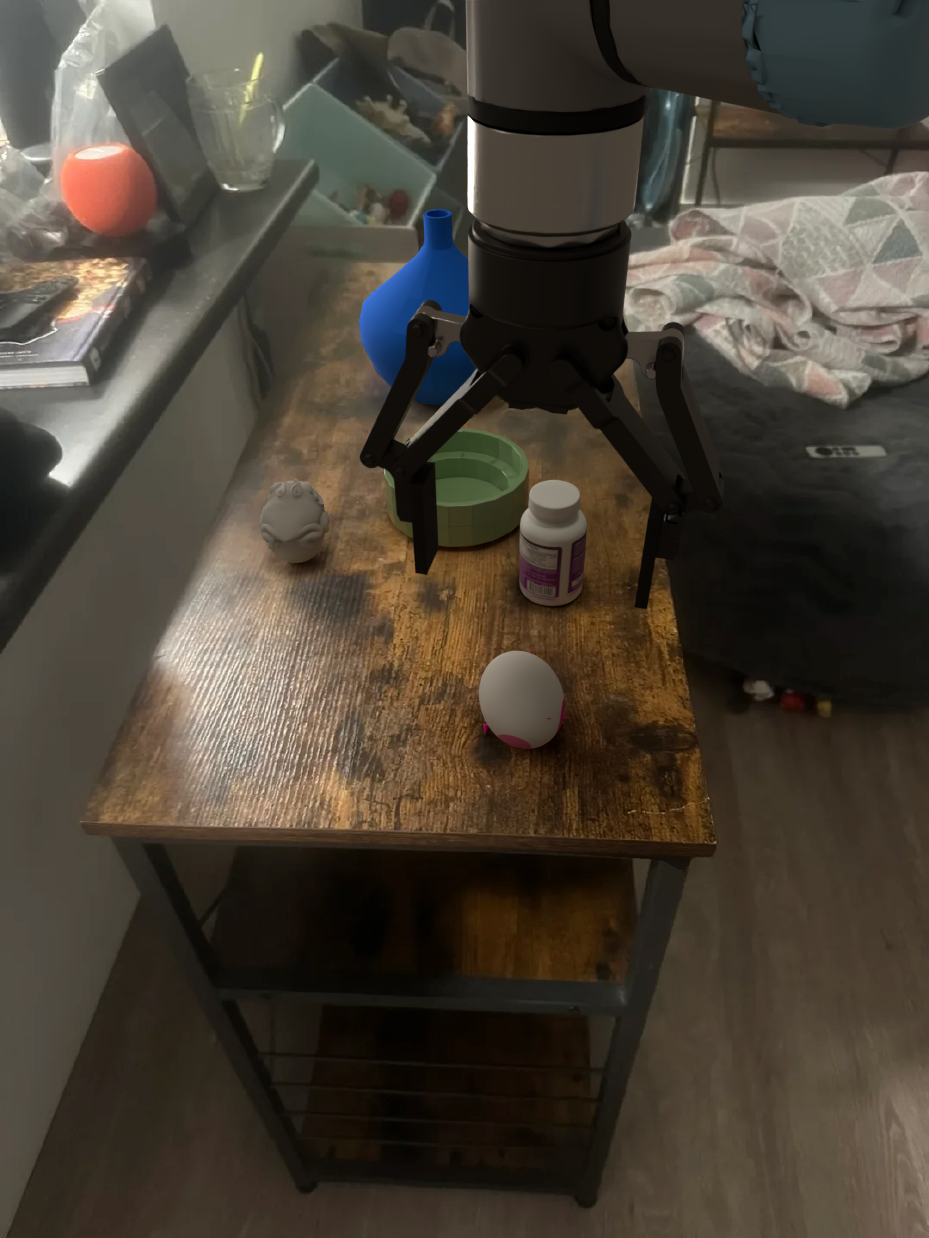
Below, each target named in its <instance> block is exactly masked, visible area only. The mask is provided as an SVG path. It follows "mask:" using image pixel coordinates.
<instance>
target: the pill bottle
mask: <svg viewBox="0 0 929 1238" xmlns="http://www.w3.org/2000/svg"><path fill="white" fill-rule="evenodd" d="M587 522H588V521H587V518H586V515H585V514H584V512H583V511H582V509H581V491H580V489H579V488H578V487H577V486H576V485H574V484H573V483H571V482H568V481H565V480H560V479H548V480H543V481H540V482H538V483H536V484H534V485H533V486H532V487H531V488H530V489H529V492H528V509H527V510H526V511H525V512H524V513H523V515H522V518H521V522H520V524H519V567H518V568H519V569H518V571H519V574H518V579H519V580H518V581H519V589H520V591H521V593H522V594H523V595H524V597H525V598H526V599H528V600H529V601H530V602H533V603H535V604H538V605H542V606H549V607H550V606H551V607H556V606H557V607H558V606H563V605H567V604H568V603H571V602H572V601H574V600H575V599H577V597H579V595H580V594H581V592H582V589H583V584H584V583H583V582H584V574H585V560H586V547H587V546H586V545H587V532H588V523H587Z"/></svg>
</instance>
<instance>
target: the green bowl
mask: <svg viewBox="0 0 929 1238" xmlns="http://www.w3.org/2000/svg"><path fill="white" fill-rule="evenodd" d="M411 438H412V437H411ZM411 438H409V439H411ZM407 440H408V439H406V440H404V441H402V442H401V443H403V444H405V443H406V442H407ZM428 462H435V476H436V499H437V523H438V546H441V547H447V548H455V547H473V546H478V545H481V544H485V543H490V542H494V541H496V540H498V539H500V538H502V537H504V536H505V535H507V534H509V533H511V532H513V531H514V530H515V529H516V528H517V527H518V526H520V522H521V518H522V515H523V513H524V512H525V511H526V510H527V509H528V508H529V507H528V503H529V492H530V489H529V488H530V487H529V486H530V465H529V464H530V463H529V459H528V456H527V454H526V453H525V452H524V450H523V449H522V448H521V447H520V446H519V445H518V444H517V443H516V442H514V441H513V440H510V439H509V438H507V437H505V436H504V435H500V434H497V433H494V432H490V431H488V430H482V429H473V428H463V427H461V428H460V429H459V430H458V431H457V432H456V433H455V434H454V435H453V436H452V437H451V438H450V439H449V440H448V441H447V442H446V443H445V444H444V445H443V446H442V447H441V448H440V449H439V450H438V451H437V452H436V453H435V454H434V455H433V456H432V457H431V458H430V459H429V460H428ZM383 478H384V488H385V498H386V510H387V515H388V517H389V519H390V521H391V523H392V524H393V525H394V527H395V528H397V530H399V531H400V532H401V533H403V534H404V535H406V536H407V537H408V538H411V539H413V532H412V523H409V522H402V521H400V520H399V518H398V516H397V512H396V500H395V487H394V479H393V477H392V475H391V474H390V473H389V472H388V471H387V470H385V469H383Z"/></svg>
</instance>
